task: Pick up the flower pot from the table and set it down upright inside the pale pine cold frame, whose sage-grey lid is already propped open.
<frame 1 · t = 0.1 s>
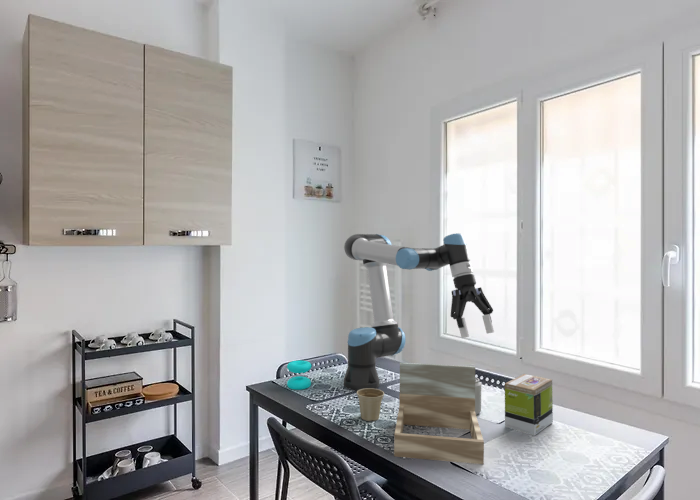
hand: (478, 335, 153), 28 cm above the table, tool tilted 20°, fingers open, 13 cm apart
cold frame: (437, 441, 132), on the table
can: (469, 412, 156), on the table
flower pot: (370, 418, 150), on the table
donuts: (299, 387, 182), on the table
tea box: (528, 425, 145), on the table
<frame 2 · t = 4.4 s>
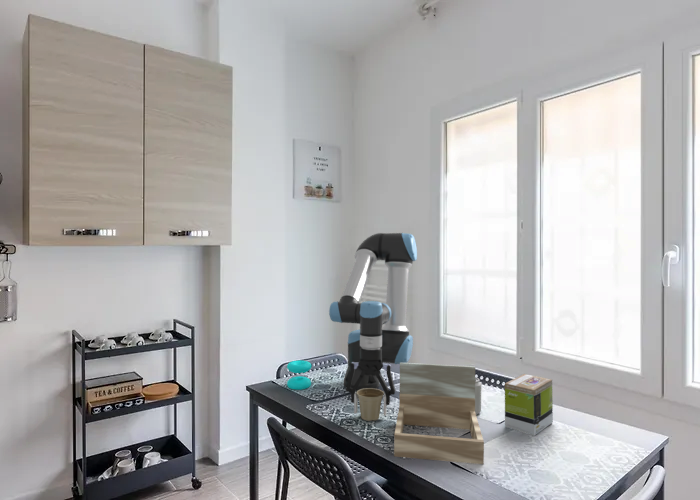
hand: (370, 413, 150), 2 cm above the table, tool pointing down, fingers closed on flower pot, 9 cm apart
flower pot: (370, 418, 150), on the table, touching gripper
everything else where it was.
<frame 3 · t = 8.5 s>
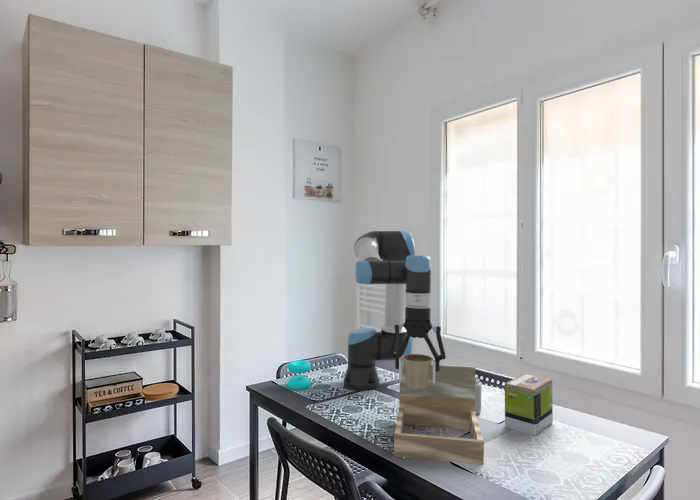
hand: (417, 380, 133), 18 cm above the table, tool pointing down, fingers closed on flower pot, 9 cm apart
flower pot: (416, 386, 133), point 16 cm above the table, touching gripper
everything else where it was.
when the fingers open (2 cm above the table, at t = 12.7 s): flower pot stays where it is, resting in cold frame.
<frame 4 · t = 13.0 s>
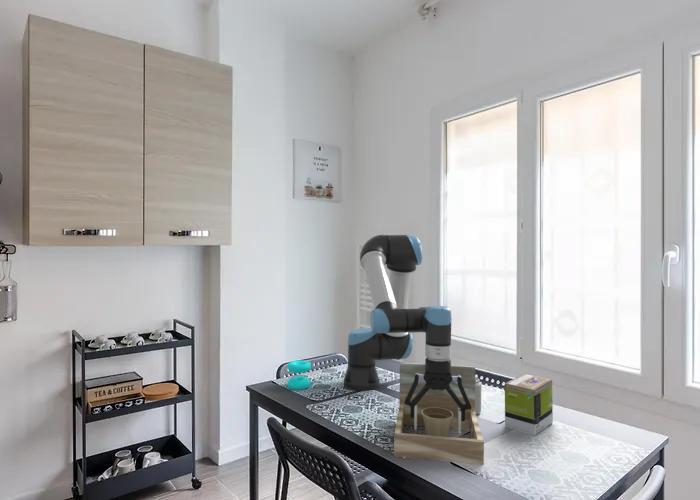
hand: (437, 429, 132), 3 cm above the table, tool pointing down, fingers open, 12 cm apart
flower pot: (437, 442, 132), resting in cold frame
everything else where it was.
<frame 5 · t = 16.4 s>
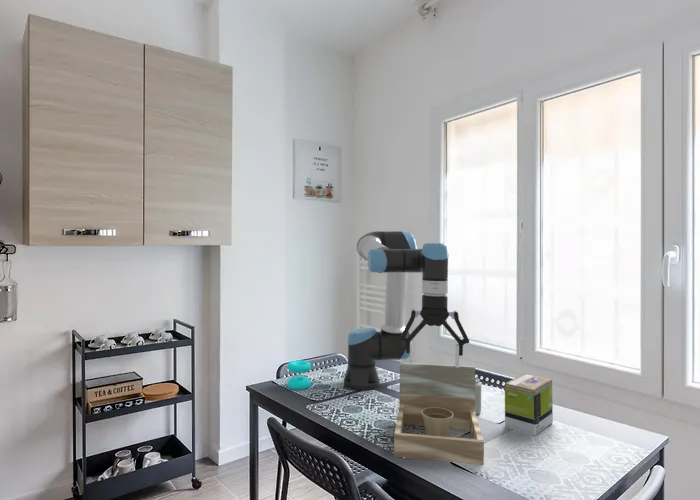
hand: (433, 365, 132), 23 cm above the table, tool pointing down, fingers open, 13 cm apart
nothing on the table moved.
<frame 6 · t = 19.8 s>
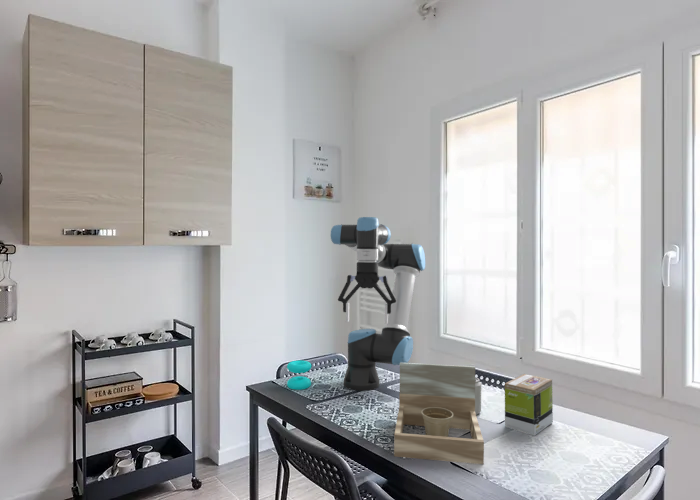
hand: (366, 322, 154), 32 cm above the table, tool pointing down, fingers open, 13 cm apart
nothing on the table moved.
at the end: flower pot inside the target area on the cold frame (0.0 cm from its centre), point 0.0 cm above the cold frame's base; flower pot tilted 0°; the gripper is holding nothing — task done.
